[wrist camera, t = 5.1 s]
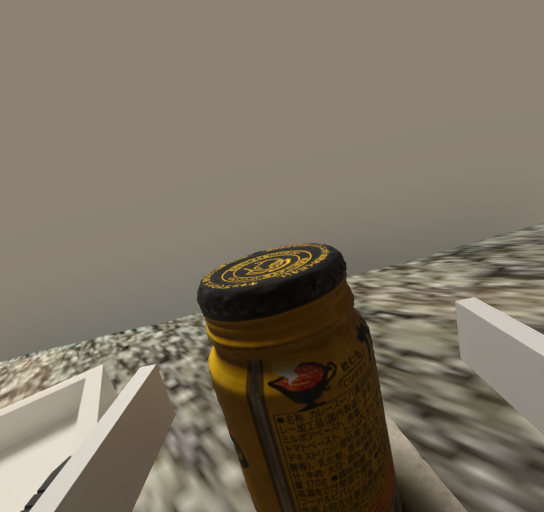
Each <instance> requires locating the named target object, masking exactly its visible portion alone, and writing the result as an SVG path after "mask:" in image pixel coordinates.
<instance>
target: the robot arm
mask: <svg viewBox="0 0 544 512" xmlns="http://www.w3.org/2000/svg"><path fill="white" fill-rule="evenodd" d="M455 304H456V315H457V325H458V336H459V346H460V357H461V360H463V361H464V362H465V363H466V364H467V365H468V366H469V367H470V368H471V369H472V370H474V371H475V372H476V373H477V374H478V375H479V376H480V377H481V378H482V379H483V380H484V381H486V382H487V383H488V384H489V385H490V386H491V387H492V388H493V389H494V390H495V391H496V392H498V393H499V394H500V395H501V396H502V397H503V398H504V399H505V400H506V401H507V402H508V403H510V404H511V405H512V406H513V407H514V408H515V409H516V410H517V411H518V412H519V413H520V414H522V415H523V416H524V417H525V418H526V419H527V420H528V421H529V422H530V423H531V424H533V425H534V426H535V427H536V428H537V429H538V430H539V431H540V432H541V433H542V434H543V435H544V335H543V334H541V333H539V332H537V331H536V330H534V329H532V328H530V327H528V326H526V325H525V324H523V323H521V322H519V321H517V320H515V319H513V318H512V317H510V316H508V315H506V314H504V313H502V312H500V311H499V310H497V309H495V308H493V307H491V306H489V305H488V304H486V303H484V302H482V301H480V300H478V299H476V298H475V297H473V298H469V299H464V300H459V301H455ZM175 415H176V414H175V412H174V409H173V406H172V404H171V401H170V399H169V396H168V394H167V391H166V388H165V386H164V383H163V381H162V378H161V376H160V373H159V370H158V368H157V365H156V364H155V365H150V366H146V367H141V368H139V370H138V371H137V372H136V374H135V375H134V376H133V378H132V379H131V380H130V381H129V383H128V384H127V385H126V387H125V388H124V389H123V390H122V392H121V393H120V394H119V396H118V397H117V398H116V400H115V401H114V402H113V403H112V405H111V406H110V407H109V409H108V410H107V411H106V413H105V414H104V415H103V416H102V418H101V419H100V420H99V422H98V423H97V424H96V426H95V427H94V428H93V429H92V431H91V432H90V433H89V435H88V436H87V437H86V439H85V440H84V441H83V442H82V444H81V445H80V446H79V448H78V449H77V450H76V451H75V453H74V454H73V455H72V456H69V457H68V458H67V459H66V460H65V461H64V462H63V463H61V464H60V465H59V466H58V467H57V468H56V469H55V470H54V471H53V472H52V473H51V474H50V475H49V477H48V478H47V479H46V480H45V482H44V483H43V484H42V485H41V487H40V488H39V489H38V490H37V494H35V495H33V497H32V498H31V499H30V500H29V502H28V503H27V504H26V505H25V508H24V510H23V511H21V512H132V510H133V508H134V506H135V503H136V501H137V499H138V497H139V495H140V492H141V490H142V488H143V486H144V484H145V481H146V479H147V477H148V475H149V472H150V470H151V468H152V466H153V464H154V461H155V459H156V457H157V455H158V452H159V450H160V448H161V446H162V444H163V441H164V439H165V437H166V435H167V433H168V430H169V428H170V426H171V424H172V421H173V419H174V417H175Z"/></svg>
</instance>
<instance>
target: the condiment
mask: <svg viewBox="0 0 544 512" xmlns="http://www.w3.org/2000/svg"><path fill="white" fill-rule="evenodd" d="M346 269H347V268H346V262H345V261H344V259H343V256H342V254H341V253H340V252H339V251H338V250H336V249H335V248H333V247H332V246H328V245H325V244H323V245H321V244H300V245H291V246H285V247H278V248H273V249H269V250H265V251H259V252H256V253H253V254H251V255H248V256H245V257H242V258H239V259H236V260H234V261H231V262H229V263H226V264H225V265H222V266H220V267H218V268H216V269H215V270H213V271H211V272H210V273H209V274H207V275H206V276H205V277H204V278H203V279H202V280H201V283H200V286H199V289H198V291H197V301H198V304H199V305H200V308H201V310H202V313H203V316H204V317H205V322H206V324H207V329H206V331H207V335H208V339H209V341H210V343H211V344H212V345H213V348H212V350H211V353H210V356H209V359H208V362H209V373H210V375H211V379H212V386H213V388H214V390H215V392H216V395H217V399H218V402H219V404H220V406H221V407H222V410H223V413H224V416H225V420H226V423H227V427H228V430H229V434H230V437H231V439H232V441H233V442H234V446H235V450H236V452H237V455H238V459H239V461H240V464H241V468H242V471H243V475H244V478H245V481H246V484H247V487H248V489H249V492H250V494H251V498H252V501H253V503H254V506H255V512H467V511H466V510H465V509H464V507H463V506H462V505H461V503H460V502H459V501H458V500H457V499H456V498H455V496H454V495H453V494H452V493H451V492H450V491H449V490H448V488H447V487H446V486H445V485H444V484H443V483H442V481H441V480H440V479H439V477H438V476H437V475H436V474H435V472H434V471H433V470H432V469H431V468H430V466H429V465H428V464H427V463H426V462H425V461H424V460H423V459H422V458H421V456H420V454H419V453H418V452H417V450H416V449H415V448H414V447H413V445H412V444H411V443H410V442H409V440H408V439H407V438H406V437H405V436H404V435H403V434H402V432H401V431H400V430H399V429H398V427H397V426H396V424H395V423H394V422H393V421H392V419H391V418H390V417H389V416H388V415H387V413H386V412H384V407H383V401H382V396H381V390H380V384H379V379H378V373H377V366H376V361H375V356H374V350H373V344H372V339H371V335H370V330H369V327H368V325H367V324H366V322H365V320H364V319H363V317H362V316H361V314H359V313H358V312H357V311H356V309H355V308H353V306H354V295H353V293H352V291H351V289H350V287H349V285H348V284H347V282H346V277H347V274H346Z"/></svg>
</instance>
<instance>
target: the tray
mask: <svg viewBox="0 0 544 512" xmlns="http://www.w3.org/2000/svg"><path fill="white" fill-rule="evenodd" d="M116 398H117V395H116V392H115V390H114V388H113V386H112V383H111V381H110V379H109V376H108V374H107V372H106V370H105V367H104V365H103V364H102V365H100V366H98V367H95V368H93V369H91V370H89V371H86V372H84V373H82V374H79V375H77V376H75V377H73V378H70V379H68V380H66V381H64V382H61V383H59V384H57V385H55V386H52V387H50V388H48V389H46V390H43V391H41V392H39V393H36V394H34V395H32V396H30V397H27V398H25V399H23V400H21V401H18V402H16V403H14V404H12V405H9V406H7V407H5V408H3V409H0V512H21V511H23V510H24V508H25V505H26V504H27V503H28V502H29V500H30V499H31V498H32V497H33V495H35V494H37V490H38V489H39V488H40V487H41V485H42V484H43V483H44V482H45V480H46V479H47V478H48V477H49V475H50V474H51V473H52V472H53V471H54V470H55V469H56V468H57V467H58V466H59V465H60V464H61V463H63V462H64V461H65V460H66V459H67V458H68V457H69V456H72V455H73V454H74V453H75V451H76V450H77V449H78V448H79V446H80V445H81V444H82V442H83V441H84V440H85V439H86V437H87V436H88V435H89V433H90V432H91V431H92V429H93V428H94V427H95V426H96V424H97V423H98V422H99V420H100V419H101V418H102V416H103V415H104V414H105V413H106V411H107V410H108V409H109V407H110V406H111V405H112V403H113V402H114V401H115V400H116Z"/></svg>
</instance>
